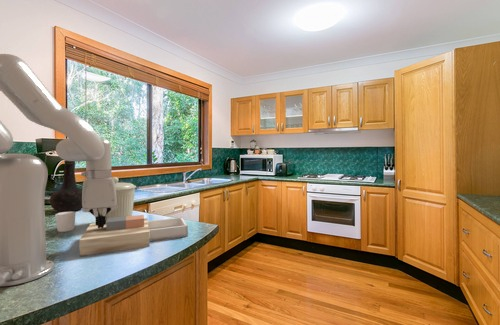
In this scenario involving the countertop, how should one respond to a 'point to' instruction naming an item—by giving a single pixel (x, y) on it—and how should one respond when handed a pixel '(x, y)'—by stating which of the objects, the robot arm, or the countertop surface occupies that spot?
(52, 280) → the countertop surface
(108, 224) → the slate tile
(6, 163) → the robot arm
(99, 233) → the board
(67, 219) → the shot glass
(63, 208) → the dark brown vase
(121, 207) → the canister
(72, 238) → the countertop surface
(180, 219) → the bin
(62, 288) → the countertop surface
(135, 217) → the terracotta tile
